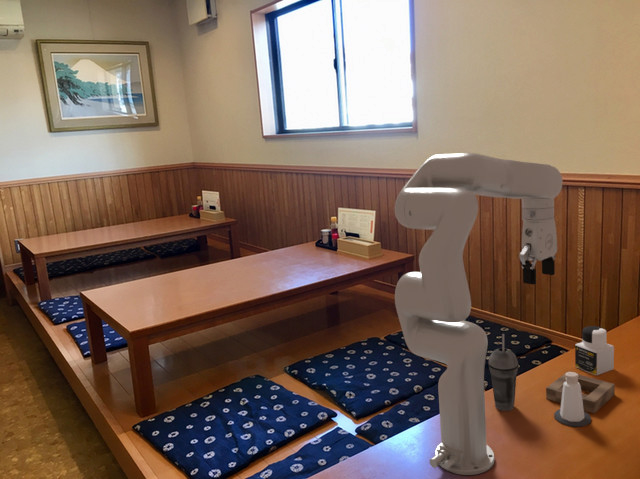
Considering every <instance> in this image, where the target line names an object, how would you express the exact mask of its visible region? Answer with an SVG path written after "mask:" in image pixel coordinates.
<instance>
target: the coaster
mask: <svg viewBox="0 0 640 479" xmlns="http://www.w3.org/2000/svg"><path fill="white" fill-rule="evenodd" d="M584 417H585V418H584V419H583V420H581V421H580V422H570V421H568V420H565V419H563V418H562V417H561V415H560V408H559V409H557V410H555V412H554V419H555V420H556V421H557V422H558V423H559V424H561V425H565V426H568V427H574V428H583V427H586V426H588V425H589V424H591V422H592V417H591V415H590V414H589V413H588V412H587V411H584Z"/></svg>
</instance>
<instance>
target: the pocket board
mask: <svg viewBox="0 0 640 479" xmlns="http://www.w3.org/2000/svg"><path fill="white" fill-rule="evenodd" d="M567 372H568V371H566V372H565V373H564V374H562V375H561V376H560V377H558V378H557V379H555V381H553V382H552V383H551V384H550V385H548V386H546V388H545V391H546V393H545V394H546V395H545V396H546V397H545V398H546V400H551V401H553V402H557V403H559V404H561V399H562V390H563V383H564V382H566V375H565V374H566V373H567ZM577 374H578V382H579V384H580V386H581V392H587V393H589V394H585V393H582V401H583V409H584V412H587V413H588V412H589V413H592V414H595V413H597V412H598V411H599V410H600V409H601V408H602V407H604V405H606V403H608V402H609V401H610V400H611V399H612V398H613V397H614V396H615V394H616V393H615V389H616V388H615V387H616V384H615V383H613V382H609V381H605V380H600V379H598V378H593V377H590V376H586V375H582V374H579V373H577Z"/></svg>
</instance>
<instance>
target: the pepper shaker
mask: <svg viewBox="0 0 640 479" xmlns="http://www.w3.org/2000/svg"><path fill="white" fill-rule="evenodd" d="M566 372H567V373H566ZM566 372H565V373H566V374H565V373H564V374H565V375H566V382H564V383H563V390H562V399H561V403H560V407H559V409H560V415H561V417H562V418H563V419H565V420H568V421H570V422H580V421H581V420H583V419H584V418H585V417H584V412H585V411H584V409H583V401H582V394H583V392H582V390H581V386H580V384H579V382H578V374H579V373H577V372H574V371H566Z"/></svg>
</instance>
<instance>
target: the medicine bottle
mask: <svg viewBox="0 0 640 479" xmlns="http://www.w3.org/2000/svg"><path fill="white" fill-rule="evenodd" d="M607 335H608V334H607V330H606V329H605V328H603V327H600V326H597V325H596V326H595V325H589V326H586V327H583V329H582V336H581V337H582V340H581V342H577V343H575V345H574V349H575V350H574V353H575V354H574V357H575V358H574V360H575V363H574V364H575V368H577V369H579V370H581V371H584V372H585V373H588V374H591V375H594V376H599V375H602V374H605V373H607V372H611V371H613V370H614V368H615V364H614V362H615V361H614V360H615V347H614V345H613V344H609V343H607Z"/></svg>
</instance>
